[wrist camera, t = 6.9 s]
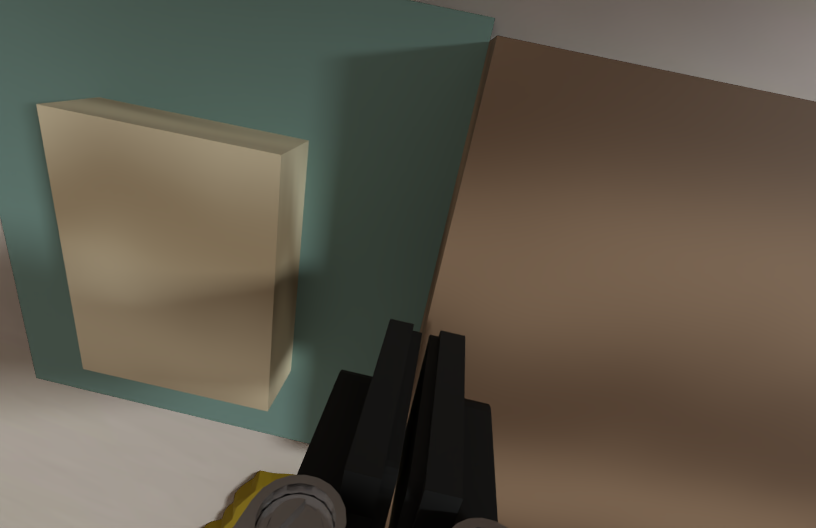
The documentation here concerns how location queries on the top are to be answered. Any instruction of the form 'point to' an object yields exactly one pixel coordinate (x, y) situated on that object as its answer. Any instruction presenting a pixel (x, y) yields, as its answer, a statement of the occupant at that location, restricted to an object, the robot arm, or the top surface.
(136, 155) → the tile
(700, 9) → the top surface
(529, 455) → the brown flat block
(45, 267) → the mat
